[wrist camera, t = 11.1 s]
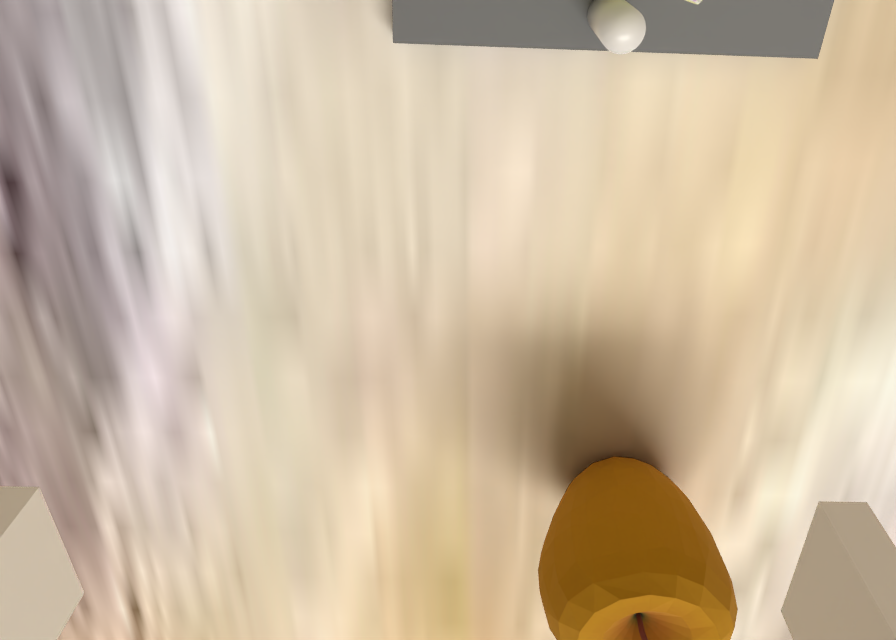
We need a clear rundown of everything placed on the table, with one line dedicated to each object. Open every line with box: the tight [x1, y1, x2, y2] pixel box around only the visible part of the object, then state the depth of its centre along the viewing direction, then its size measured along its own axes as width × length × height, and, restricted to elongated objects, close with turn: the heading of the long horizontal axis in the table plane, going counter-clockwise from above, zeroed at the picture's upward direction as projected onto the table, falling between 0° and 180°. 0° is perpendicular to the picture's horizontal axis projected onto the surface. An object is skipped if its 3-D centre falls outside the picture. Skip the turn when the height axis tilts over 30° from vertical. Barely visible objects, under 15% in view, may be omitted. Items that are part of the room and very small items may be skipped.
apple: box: [538, 457, 737, 640], centre depth 43 cm, size 11×11×13 cm
